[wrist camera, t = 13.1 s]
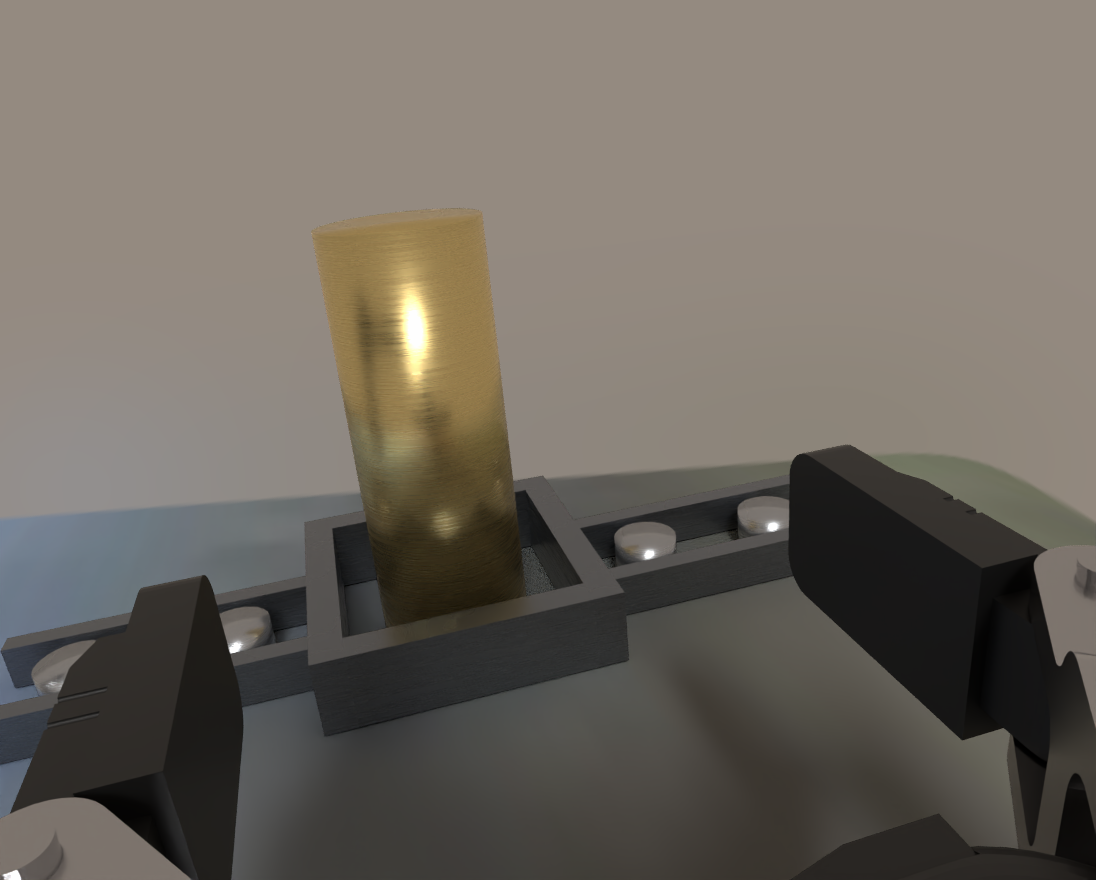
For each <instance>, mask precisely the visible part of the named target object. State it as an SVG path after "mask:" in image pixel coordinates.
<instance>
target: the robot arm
mask: <svg viewBox="0 0 1096 880" xmlns="http://www.w3.org/2000/svg"><path fill="white" fill-rule="evenodd" d="M788 555H789V562H790V567H791V570H792V573H793V576H794V578H795V581H796V583H797V584H798V586H799V588H800V589H801V591H802V592H803V593H804V594H805V595H806V596H807V597H808V598H809V599H810V600H811V601H812V602H813V603H814V604H815V605H816V606H818V607H819V608H820V609H821V610H822V611H823V612H824V613H825V614H826V615H827V616H828V617H829V618H831V619H832V620H833V621H834V622H835V623H836V624H837V625H838V626H839V627H840V628H841V629H842V630H843V631H845V632H846V633H847V634H848V635H849V636H850V637H851V638H852V639H853V640H854V641H855V642H856V643H858V644H859V645H860V646H861V647H862V648H863V649H864V650H865V651H866V652H867V653H868V654H869V655H870V656H872V657H873V658H874V659H875V660H876V661H877V662H878V663H879V664H880V665H881V666H882V667H883V668H885V669H886V670H887V671H888V672H889V673H890V674H891V675H892V676H893V677H894V678H895V679H896V680H897V681H899V682H900V683H901V684H902V685H903V686H904V687H905V688H906V689H907V690H908V691H909V692H910V693H912V694H913V695H914V696H915V697H916V698H917V699H918V700H919V701H920V702H921V703H922V704H923V705H924V706H926V707H927V708H928V709H929V710H930V711H931V712H932V713H933V714H934V715H935V716H936V717H937V718H939V719H940V720H941V721H942V722H943V723H944V724H945V725H946V726H947V727H948V728H949V729H950V730H951V731H953V732H954V733H955V734H956V735H957V736H958V737H959V738H960V739H961V740H965V739H969V738H972V737H975V736H978V735H982V734H985V733H988V732H992V731H995V730H998V729H1002V728H1004V729H1006V730H1007V731H1008V732H1009V733H1010V737H1009V744H1008V752H1007V765H1008V772H1009V780H1010V788H1011V795H1012V803H1013V811H1014V818H1015V826H1016V834H1017V841H1018V849H1015V848H1007V847H985V846H976V847H969V846H968V844H967V843H966V842H965V841H964V840H963V839H962V838H961V837H960V836H959V835H958V834H957V833H956V832H955V831H954V829H953V828H952V827H951V826H950V825H949V824H948V823H947V822H946V821H945V820H944V819H943V818H942V817H941V815H940V814H936V815H933V816H930V817H927V818H924V819H921V820H918V821H914V822H911V823H908V824H905V825H902V826H899V827H896V828H893V829H890V830H886V831H883V832H880V833H877V834H874V835H871V836H868V837H865V838H862V839H858V840H855V841H852V842H849V843H846V844H843V845H842V846H840V847H839V848H837V849H836V850H834V851H833V852H831V853H830V854H828V855H827V856H825V857H824V858H822V859H821V860H819V861H818V862H816V863H815V864H813V865H812V866H810V867H809V868H807V869H806V870H804V871H803V872H801V873H800V874H798V875H797V876H795V877H794V878H792V879H791V880H1096V546H1088V545H1071V546H1062V547H1057V548H1053V549H1050V550H1047V549H1045V548H1043V547H1041V546H1040V545H1038V544H1036V543H1034V542H1033V541H1031V540H1029V539H1027V538H1026V537H1024V536H1022V535H1020V534H1019V533H1017V532H1015V531H1013V530H1012V529H1010V528H1008V527H1006V526H1004V525H1003V524H1001V523H999V522H997V521H996V520H994V519H992V518H990V517H989V516H987V515H985V514H983V513H982V512H981V513H976V509H975V508H973V507H971V506H969V505H968V504H966V503H964V502H962V501H961V500H959V499H957V500H954V499H953V496H952V495H950V494H948V493H947V492H945V491H943V490H941V489H940V488H938V487H936V486H934V485H932V484H931V483H929V482H927V481H925V480H922V479H919V478H916V477H912V476H909V475H906V474H902V473H899V472H896V471H894V470H893V469H891V468H889V467H888V466H886V465H884V464H882V463H881V462H879V461H877V460H876V459H874V458H872V457H870V456H869V455H867V454H865V453H864V452H862V451H860V450H858V449H857V448H855V447H853V446H851V445H843V446H837V447H832V448H827V449H822V450H818V451H813V452H808V453H803V454H799V455H797V456H796V457H795V458H794V460H793V461H792V464H791V468H790V485H789V540H788ZM57 699H58V703H57V704H54V707H53V709H52V712H51V714H50V717H49V719H48V721H47V729H46V730H44V731H43V734H42V736H41V739H40V741H39V744H38V746H37V748H36V751H35V753H34V756H33V758H32V761H31V763H30V766H29V768H28V771H27V773H26V775H25V778H24V780H23V783H22V785H21V788H20V790H19V793H18V795H17V798H16V800H15V802H14V805H13V807H12V810H11V812H10V814H9V815H7V816H5V817H3V818H1V819H0V880H231V875H232V863H233V850H234V838H235V826H236V813H237V801H238V789H239V776H240V764H241V752H242V739H243V711H242V702H241V695H240V690H239V685H238V680H237V676H236V673H235V669H234V665H233V662H232V658H231V654H230V651H229V647H228V643H227V640H226V636H225V632H224V629H223V625H222V621H221V618H220V614H219V610H218V607H217V603H216V599H215V596H214V592H213V589H212V586H211V584H210V582H209V580H208V578H207V577H206V576H205V575H202V576H197V577H193V578H188V579H183V580H178V581H173V582H168V583H163V584H158V585H154V586H149V587H144V588H141V589H140V590H139V592H138V595H137V598H136V601H135V604H134V607H133V610H132V614H131V617H130V620H129V623H128V626H127V629H126V632H124V633H120V634H115V635H110V636H106V637H101V638H98V639H97V640H96V641H95V642H94V643H93V644H92V645H91V646H90V647H89V648H88V649H87V650H86V651H85V653H84V654H83V655H82V656H81V657H80V658H79V659H78V660H77V661H76V662H75V663H74V664H73V665H72V666H71V667H70V668H69V670H68V672H67V675H66V677H65V680H64V682H63V685H62V687H61V690H60V692H59V694H58V697H57Z"/></svg>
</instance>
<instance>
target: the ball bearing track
mask: <svg viewBox="0 0 1096 880" xmlns="http://www.w3.org/2000/svg"><path fill="white" fill-rule="evenodd" d="M513 484H514V493H515V501H516V510H517V519H518V527H519V536H520V544H521V548H523V547H528V546H532V548H533V549H534V551H535V553H536V555H537V557H538V558H539V560H540V562H541V564H542V566H543V567H544V569H545V571H546V573H547V575H548V576H549V578H550V580H551V582H552V584H553V585H554V587H555V589H556V590H552V591H547V592H543V593H539V594H534V595H530V596H525V597H521V598H517V599H512V600H508V601H503V602H499V603H495V604H490V605H486V606H481V607H477V608H473V609H468V610H464V611H459V612H455V613H451V614H446V615H442V616H437V617H433V618H429V619H424V620H420V621H415V622H411V623H407V624H402V625H398V626H393V627H389V628H385V629H380V630H376V631H371V632H367V633H363V634H358V635H354V636H349V629H348V619H347V610H346V601H345V591H344V586H346V585H350V584H355V583H360V582H364V581H369V580H374V579H377V576H376V571H375V565H374V560H373V555H372V550H371V544H370V539H369V534H368V528H367V523H366V518H365V513H364V511H360V512H355V513H350V514H345V515H340V516H335V517H330V518H325V519H319V520H314V521H309V522H305V560H306V576H303V577H298V578H293V579H289V580H284V581H279V582H274V583H270V584H265V585H260V586H255V587H251V588H246V589H241V590H236V591H231V592H227V593H222V594H217V595H214V596H215V599H216V603H217V607H218V610H219V614H220V618H221V621H222V625H223V629H224V632H225V636H226V640H227V643H228V647H229V651H230V654H231V658H232V662H233V665H234V669H235V673H236V676H237V680H238V685H239V690H240V695H241V702H242V706H247V705H251V704H255V703H259V702H263V701H267V700H272V699H276V698H280V697H284V696H288V695H293V694H297V693H301V692H305V691H309V690H314V692H315V697H316V701H317V705H318V709H319V714H320V718H321V722H322V727H323V731H324V735H325V736H327V735H331V734H335V733H339V732H343V731H347V730H351V729H355V728H359V727H363V726H367V725H371V724H375V723H379V722H383V721H387V720H391V719H395V718H399V717H403V716H407V715H410V714H414V713H418V712H422V711H426V710H430V709H434V708H438V707H442V706H446V705H450V704H454V703H458V702H462V701H466V700H470V699H474V698H478V697H482V696H486V695H490V694H494V693H498V692H502V691H506V690H510V689H514V688H518V687H522V686H526V685H530V684H534V683H538V682H542V681H546V680H550V679H554V678H558V677H562V676H566V675H570V674H574V673H578V672H582V671H586V670H590V669H594V668H598V667H602V666H606V665H610V664H614V663H618V662H622V661H626V660H629V654H628V638H627V623H626V615H628V614H632V613H637V612H641V611H645V610H649V609H653V608H658V607H662V606H666V605H670V604H674V603H679V602H683V601H687V600H691V599H695V598H700V597H704V596H708V595H712V594H716V593H721V592H725V591H729V590H733V589H737V588H742V587H746V586H750V585H754V584H758V583H762V582H767V581H771V580H775V579H779V578H783V577H788V576H792V575H793V573H792V570H791V567H790V562H789V555H788V540H789V485H790V475H785V476H780V477H775V478H771V479H766V480H761V481H756V482H751V483H747V484H742V485H737V486H732V487H728V488H723V489H718V490H713V491H709V492H704V493H699V494H694V495H689V496H685V497H680V498H675V499H670V500H666V501H661V502H656V503H651V504H646V505H642V506H637V507H632V508H627V509H623V510H618V511H613V512H608V513H604V514H599V515H594V516H589V517H584V518H580V519H575V520H574V519H573V518H572V516H571V515H570V513H569V512H568V511H567V509H566V508H565V506H564V505H563V503H562V502H561V501H560V499H559V498H558V496H557V495H556V493H555V492H554V490H553V489H552V488H551V486H550V485H549V483H548V482H547V480H546V479H545V478H544V476H539V477H534V478H528V479H523V480H518V481H513ZM736 528H738V540H734V541H729V542H725V543H720V544H716V545H711V546H707V547H703V548H698V549H694V550H689V551H685V552H680V553H676V542H677V541H682V540H686V539H691V538H695V537H700V536H704V535H709V534H713V533H718V532H722V531H727V530H732V529H736ZM614 555H615V556H616V567H614V568H609V569H608V568H607V566H606V565H605V564H604V562H603V561H602V559H601V558H605V557H610V556H614ZM131 614H132V612H131V613H127V614H122V615H117V616H112V617H107V618H103V619H98V620H93V621H88V622H84V623H79V624H74V625H69V626H64V627H60V628H55V629H50V630H45V631H41V632H36V633H31V634H26V635H22V636H17V637H12V638H7V640H6V642H5V644H4V646H3V647H2V649H1V653H2V656H3V658H4V661H5V663H6V666H7V669H8V671H9V674H10V676H11V679H12V681H13V684H14V686H15V688H18V687H23V686H27V685H32V684H35V687H36V690H37V692H38V695H39V697H35V698H31V699H26V700H22V701H17V702H13V703H8V704H4V705H0V764H3V763H7V762H12V761H16V760H20V759H24V758H28V757H33V756H34V753H35V751H36V748H37V746H38V744H39V741H40V739H41V736H42V734H43V731H44V730H46V729H47V721H48V719H49V717H50V714H51V712H52V709H53V707H54V704H57V703H58V699H57V697H58V694H59V692H60V690H61V687H62V685H63V682H64V680H65V677H66V675H67V672H68V670H69V668H70V667H71V666H72V665H73V664H74V663H75V662H76V661H77V660H78V659H79V658H80V657H81V656H82V655H83V654H84V653H85V651H86V650H87V649H88V648H89V647H90V646H91V645H92V644H93V643H94V642H95V641H96V640H97V639H98V638H101V637H106V636H110V635H115V634H120V633H124V632H126V629H127V626H128V623H129V620H130V617H131ZM303 624H307V637H302V638H298V639H293V640H289V641H284V642H280V643H276V639H275V635H274V631H276V630H280V629H285V628H289V627H294V626H298V625H303Z"/></svg>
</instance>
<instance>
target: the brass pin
mask: <svg viewBox="0 0 1096 880" xmlns="http://www.w3.org/2000/svg"><path fill="white" fill-rule="evenodd" d="M311 233H312V238H313V243H314V249H315V253H316V259H317V264H318V269H319V275H320V280H321V285H322V291H323V296H324V301H325V307H326V312H327V316H328V322H329V328H330V333H331V338H332V344H333V348H334V354H335V359H336V365H337V370H338V375H339V380H340V386H341V391H342V396H343V401H344V407H345V412H346V418H347V423H348V428H349V433H350V438H351V444H352V449H353V454H354V459H355V465H356V470H357V476H358V481H359V486H360V491H361V497H362V502H363V507H364V513H365V518H366V523H367V528H368V534H369V539H370V544H371V550H372V555H373V560H374V565H375V571H376V576H377V581H378V587H379V592H380V597H381V602H382V608H383V613H384V618H385V624H386V628H389V627H393V626H398V625H402V624H407V623H411V622H415V621H420V620H424V619H429V618H433V617H437V616H442V615H446V614H451V613H455V612H459V611H464V610H468V609H473V608H477V607H481V606H486V605H490V604H495V603H499V602H503V601H508V600H512V599H517V598H521V597H525V596H526V588H525V579H524V570H523V562H522V553H521V544H520V536H519V527H518V519H517V510H516V501H515V493H514V484H513V475H512V467H511V458H510V450H509V441H508V432H507V424H506V415H505V406H504V398H503V389H502V380H501V372H500V363H499V355H498V346H497V337H496V329H495V320H494V312H493V303H492V294H491V286H490V277H489V269H488V260H487V251H486V242H485V234H484V226H483V216H482V212H481V211H479V210H475V209H462V208H459V209H458V208H451V209H428V210H415V211H405V212H395V213H387V214H379V215H372V216H366V217H359V218H354V219H349V220H343V221H339V222H334V223H330V224H327V225H324V226H320V227H318V228H316V229H314V230H312V232H311Z"/></svg>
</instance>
